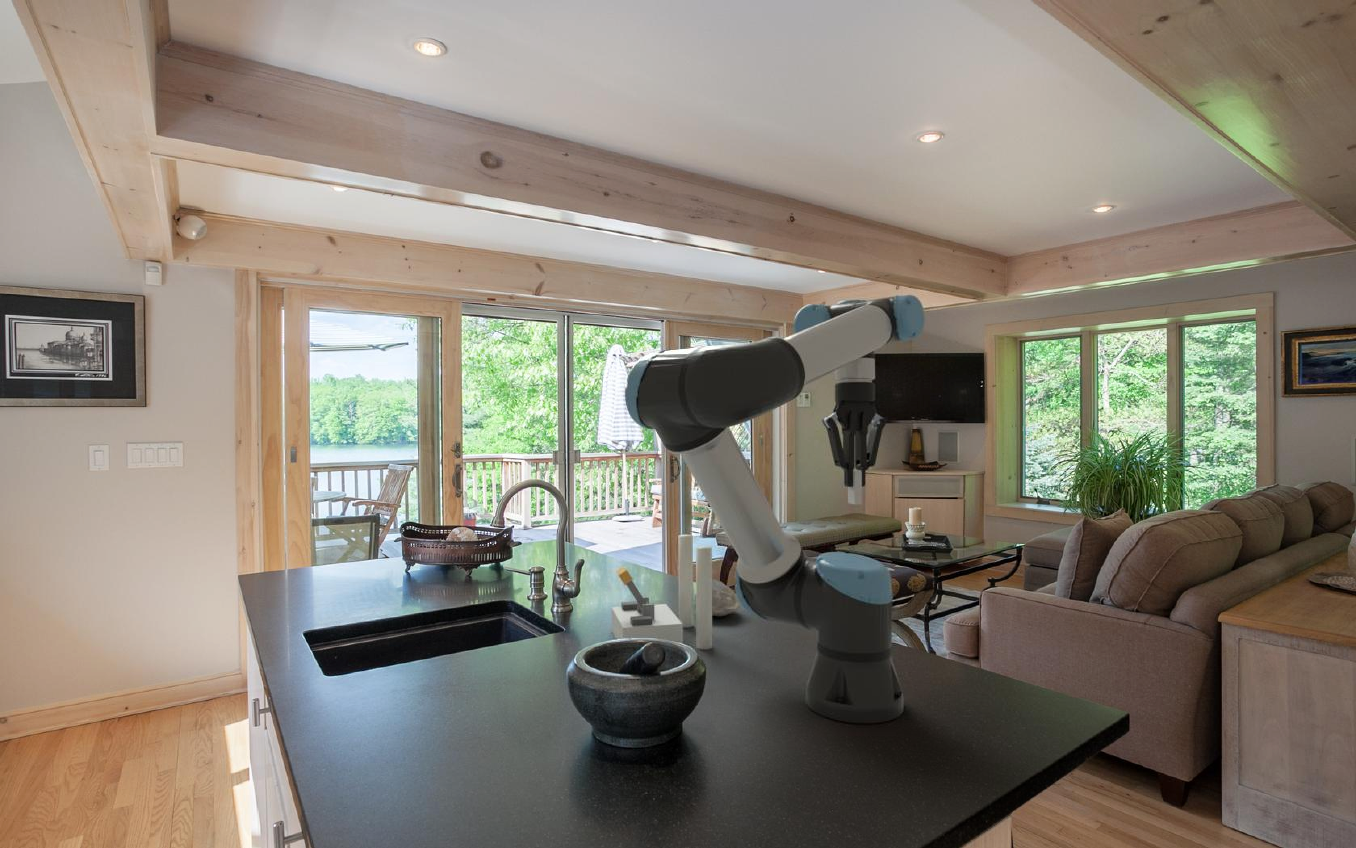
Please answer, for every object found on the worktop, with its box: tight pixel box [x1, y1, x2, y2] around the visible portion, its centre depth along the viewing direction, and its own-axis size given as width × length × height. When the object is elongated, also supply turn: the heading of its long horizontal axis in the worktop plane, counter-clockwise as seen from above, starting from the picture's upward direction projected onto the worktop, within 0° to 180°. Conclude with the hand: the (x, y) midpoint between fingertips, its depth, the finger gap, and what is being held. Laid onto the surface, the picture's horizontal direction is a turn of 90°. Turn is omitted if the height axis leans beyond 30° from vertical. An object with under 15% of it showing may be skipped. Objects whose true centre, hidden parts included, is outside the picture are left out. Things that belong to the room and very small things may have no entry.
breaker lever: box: [615, 565, 648, 611], centre depth 150 cm, size 4×2×10 cm
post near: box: [695, 545, 713, 650], centre depth 145 cm, size 3×3×20 cm
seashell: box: [693, 578, 741, 617], centre depth 170 cm, size 9×12×15 cm
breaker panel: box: [611, 596, 684, 643], centre depth 150 cm, size 16×12×8 cm
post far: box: [677, 534, 694, 629], centre depth 160 cm, size 3×3×20 cm
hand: (854, 503), depth 139 cm, fingers closed
